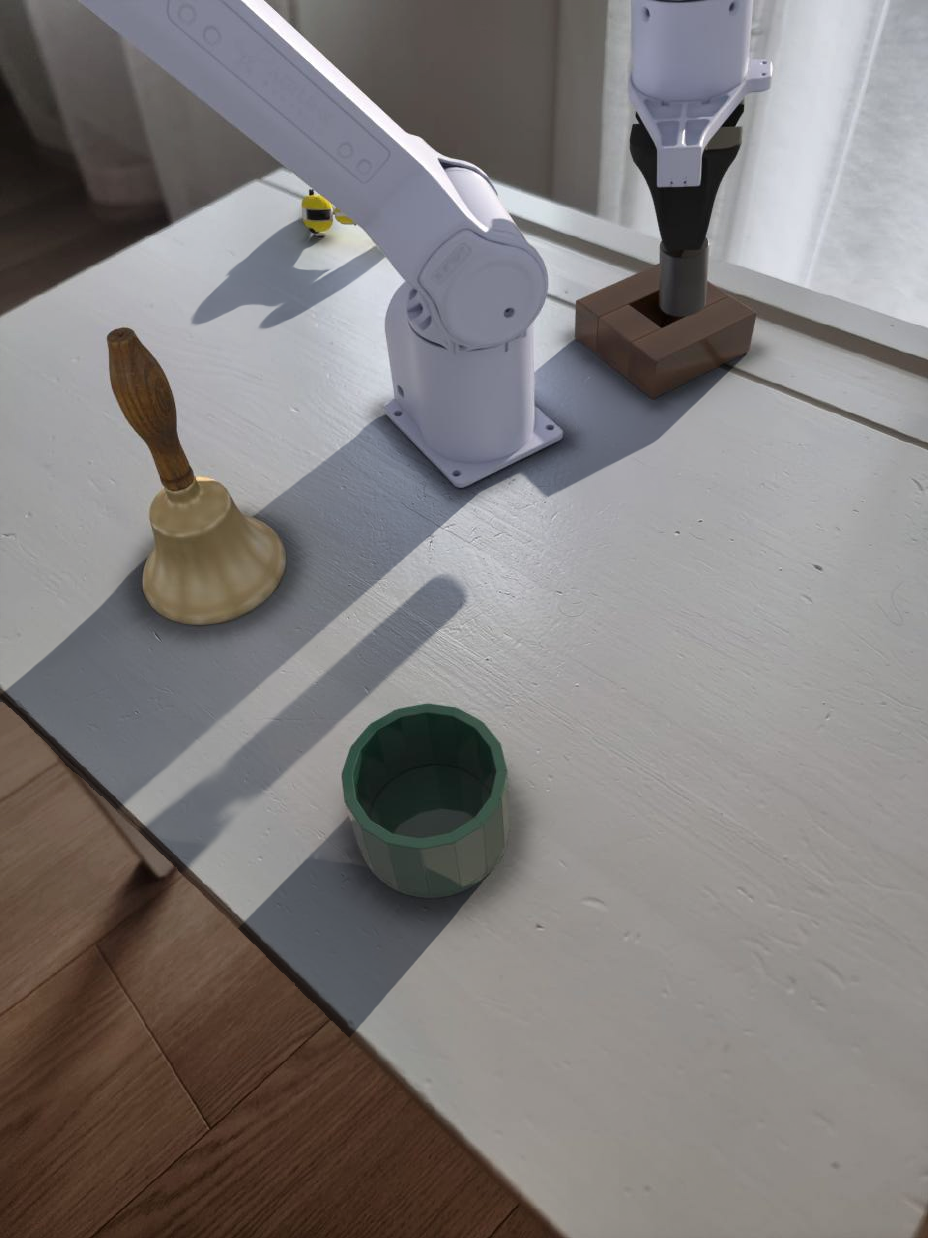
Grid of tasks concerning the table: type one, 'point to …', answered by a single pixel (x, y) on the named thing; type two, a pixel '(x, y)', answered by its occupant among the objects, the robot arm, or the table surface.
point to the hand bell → (190, 509)
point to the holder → (661, 332)
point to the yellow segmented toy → (321, 214)
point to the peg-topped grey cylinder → (683, 280)
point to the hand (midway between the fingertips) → (684, 237)
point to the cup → (428, 799)
